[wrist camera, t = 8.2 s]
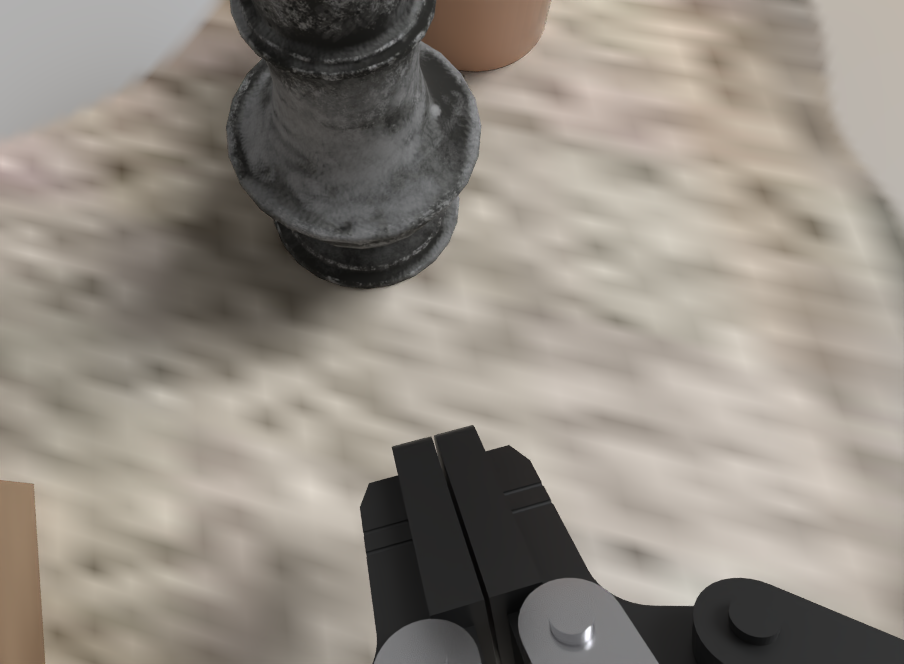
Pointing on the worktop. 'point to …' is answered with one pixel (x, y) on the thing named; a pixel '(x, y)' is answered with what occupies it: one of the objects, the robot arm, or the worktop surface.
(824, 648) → the robot arm
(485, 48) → the terracotta canister
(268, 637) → the worktop surface
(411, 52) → the dark grey turned piece
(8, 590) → the walnut block
